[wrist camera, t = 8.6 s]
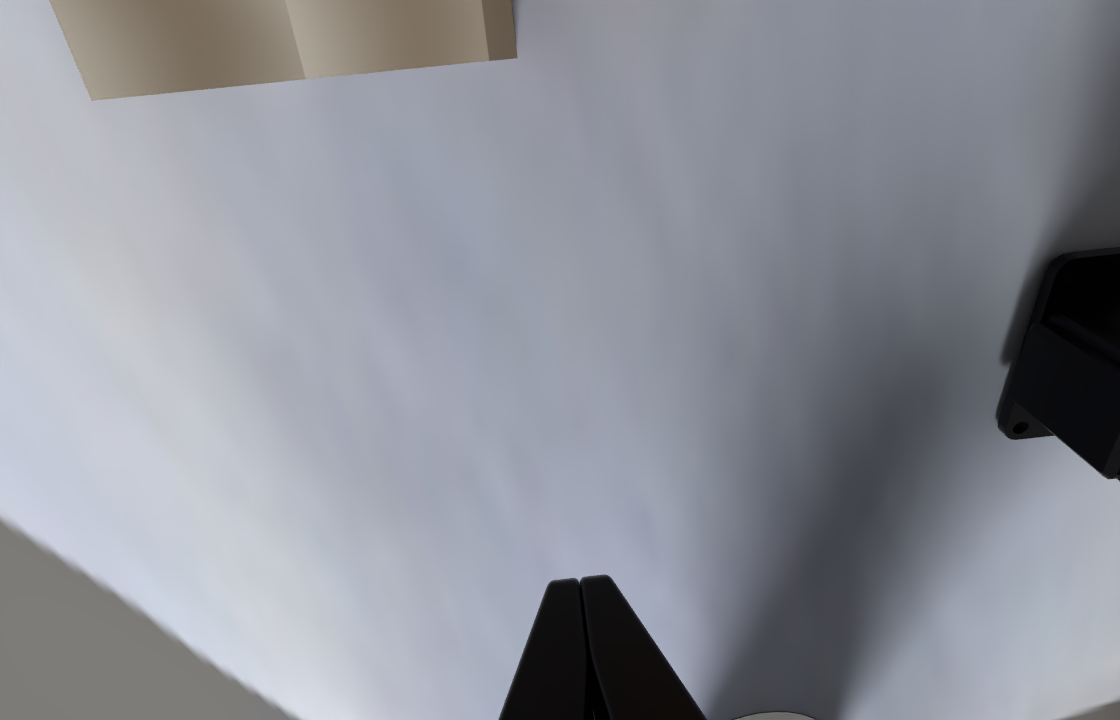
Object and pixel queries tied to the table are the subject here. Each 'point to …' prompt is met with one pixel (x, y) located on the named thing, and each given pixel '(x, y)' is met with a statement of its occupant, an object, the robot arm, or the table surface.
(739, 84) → the table surface
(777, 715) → the cylindrical container
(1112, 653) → the table surface
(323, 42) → the floor board
